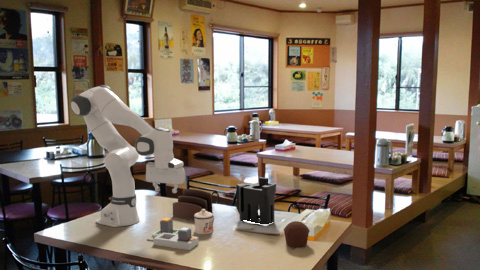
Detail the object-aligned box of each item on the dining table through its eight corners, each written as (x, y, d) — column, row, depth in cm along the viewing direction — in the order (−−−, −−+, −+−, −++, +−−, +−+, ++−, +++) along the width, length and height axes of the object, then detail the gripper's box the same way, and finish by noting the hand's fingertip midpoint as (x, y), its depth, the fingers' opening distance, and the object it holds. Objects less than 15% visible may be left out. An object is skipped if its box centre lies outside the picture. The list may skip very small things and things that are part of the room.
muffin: (283, 240, 197) (282, 218, 196) (307, 239, 197) (307, 218, 196) (284, 250, 186) (284, 227, 184) (311, 249, 185) (311, 227, 184)
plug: (160, 235, 204) (160, 220, 203) (165, 232, 208) (164, 217, 207) (168, 236, 202) (167, 220, 201) (173, 233, 206) (172, 218, 205)
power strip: (142, 245, 194) (141, 235, 193) (152, 239, 201) (152, 229, 200) (189, 252, 184) (189, 242, 184) (198, 245, 192) (198, 235, 191)
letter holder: (184, 211, 244) (183, 187, 242) (213, 217, 233) (212, 191, 231) (172, 216, 235) (171, 191, 234) (201, 222, 225) (200, 195, 223)
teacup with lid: (205, 237, 202) (204, 213, 200) (190, 234, 207) (189, 210, 206) (221, 230, 212) (220, 207, 210) (206, 227, 217) (205, 204, 215)
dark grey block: (178, 246, 189) (177, 229, 188) (183, 243, 192) (182, 226, 192) (187, 247, 187) (186, 230, 186) (191, 244, 191) (191, 227, 190)
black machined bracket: (267, 227, 214) (267, 184, 211) (233, 220, 226) (232, 179, 223) (279, 221, 224) (279, 179, 221) (246, 214, 236) (246, 174, 233)
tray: (151, 238, 202) (151, 234, 202) (163, 231, 211) (163, 227, 211) (170, 240, 198) (170, 236, 198) (181, 233, 208) (181, 229, 207)
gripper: (141, 163, 203) (143, 192, 204) (179, 165, 194) (180, 195, 196) (150, 160, 208) (151, 189, 210) (186, 162, 200) (188, 191, 201)
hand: (166, 192), depth 203 cm, fingers open, 8 cm apart
